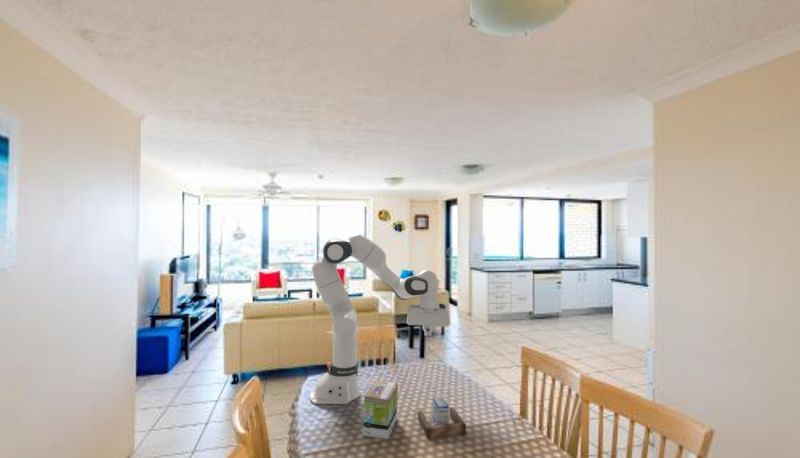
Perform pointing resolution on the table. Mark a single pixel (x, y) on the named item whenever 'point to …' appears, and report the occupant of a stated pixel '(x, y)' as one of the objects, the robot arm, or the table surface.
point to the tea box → (380, 409)
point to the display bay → (443, 426)
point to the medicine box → (440, 411)
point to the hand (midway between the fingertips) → (428, 335)
